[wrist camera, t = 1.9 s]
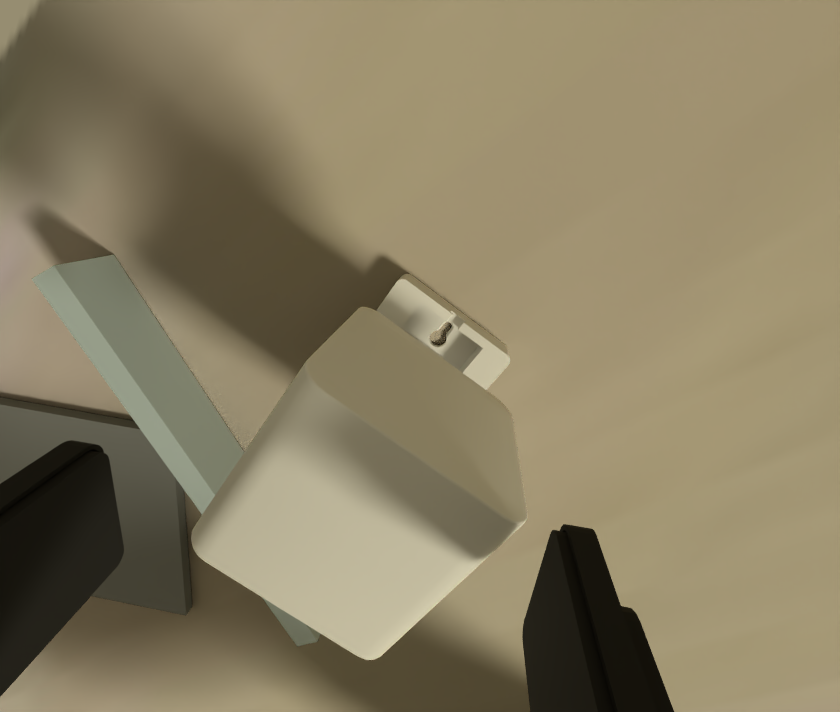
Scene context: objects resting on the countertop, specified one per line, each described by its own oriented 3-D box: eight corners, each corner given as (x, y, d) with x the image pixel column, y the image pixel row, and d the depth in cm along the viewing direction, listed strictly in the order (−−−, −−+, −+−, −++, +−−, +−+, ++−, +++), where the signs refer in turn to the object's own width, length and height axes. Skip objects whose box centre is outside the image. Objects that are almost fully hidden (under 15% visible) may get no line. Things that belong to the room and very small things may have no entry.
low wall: (335, 590, 25) (317, 641, 22) (317, 596, 25) (297, 646, 22) (113, 254, 20) (53, 265, 17) (93, 266, 20) (31, 278, 17)
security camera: (311, 387, 21) (176, 547, 12) (397, 264, 18) (315, 341, 9) (422, 464, 22) (379, 673, 12) (519, 355, 19) (558, 512, 10)
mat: (192, 606, 27) (186, 615, 26) (3, 567, 28) (-7, 575, 27) (179, 429, 22) (171, 435, 22) (-44, 389, 23) (-57, 394, 23)
